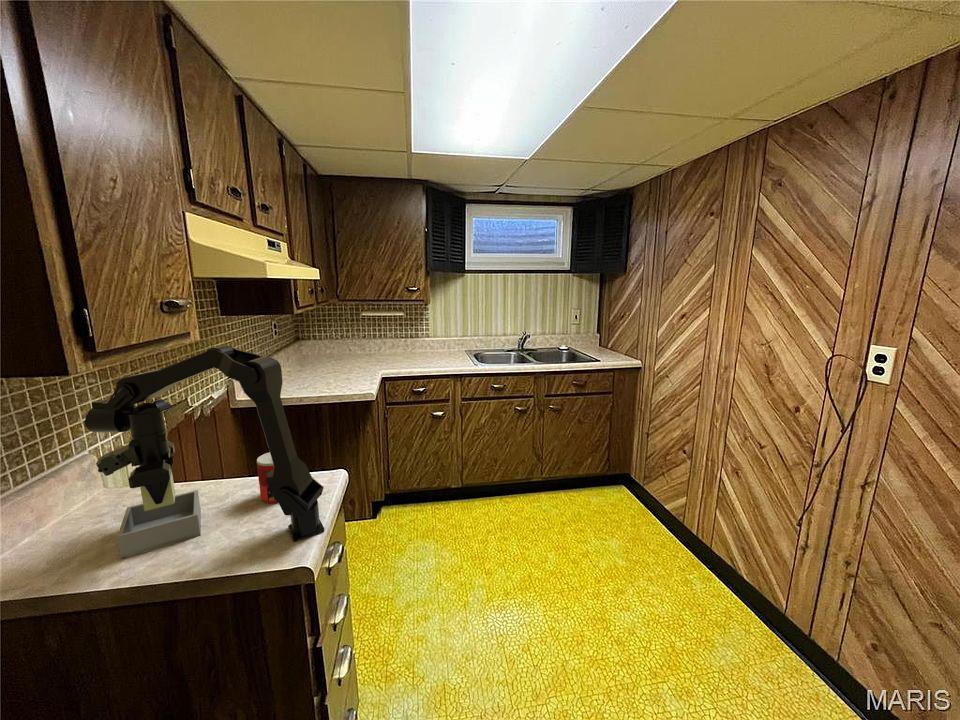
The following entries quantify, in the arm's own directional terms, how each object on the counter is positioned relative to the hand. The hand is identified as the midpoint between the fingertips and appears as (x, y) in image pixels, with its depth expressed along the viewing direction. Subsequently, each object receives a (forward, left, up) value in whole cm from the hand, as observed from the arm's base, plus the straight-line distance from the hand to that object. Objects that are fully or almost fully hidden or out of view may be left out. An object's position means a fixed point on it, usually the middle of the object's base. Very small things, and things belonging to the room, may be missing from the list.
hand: (160, 498), depth 85 cm
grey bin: (0, 0, -8) cm, 8 cm away
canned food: (+2, -23, -8) cm, 24 cm away
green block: (0, 0, -1) cm, 1 cm away
